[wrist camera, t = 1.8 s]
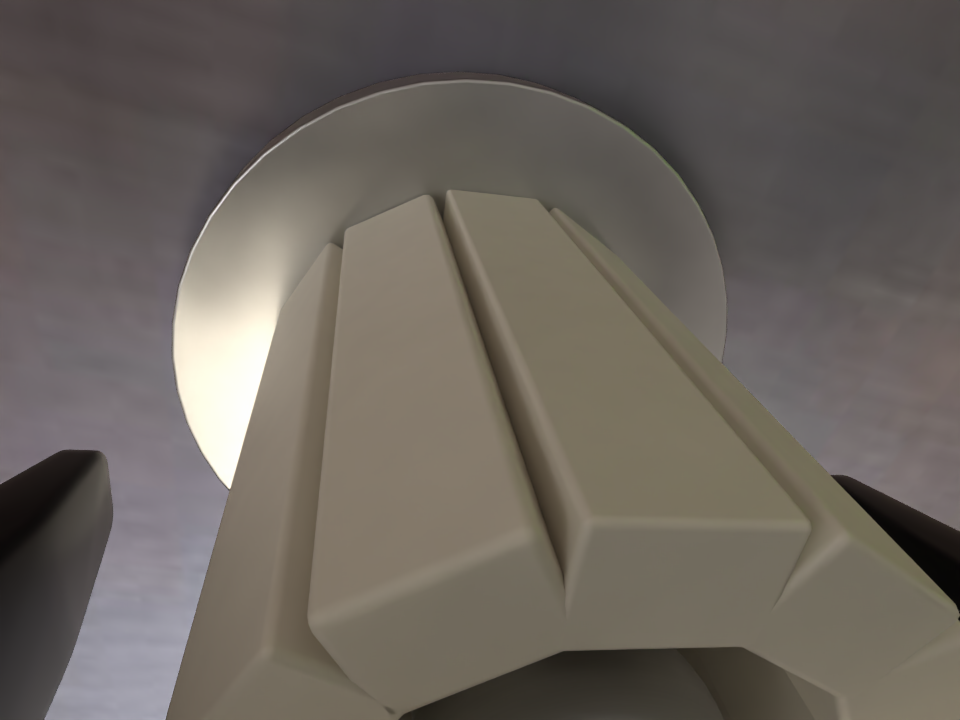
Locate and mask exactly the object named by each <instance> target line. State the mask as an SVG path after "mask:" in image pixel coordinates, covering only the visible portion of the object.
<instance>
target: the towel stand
mask: <svg viewBox="0 0 960 720" xmlns="http://www.w3.org/2000/svg"><path fill="white" fill-rule="evenodd" d="M451 189H452V190H461V191H470V192H479V193H488V194H497V195H506V196H514V197H523V198H532V199H537V200H538V201H539V202H540V203H541V204H542V205H543V206H544V208H545V209H546V210H547V211H548V212H550V211H551V210H552V209H553V208H558V209H559V210H561V211H562V212H563V213H564V214H566V215H567V216H568V217H569V218H571V219H572V220H573V221H574V222H576V223H577V224H578V225H579V226H581V227H582V228H583V229H584V230H586V231H587V232H588V233H590V234H591V235H592V236H593V237H595V238H596V239H597V240H598V241H600V242H601V243H602V244H603V245H605V246H606V247H607V248H608V249H610V250H611V251H612V252H613V253H615V254H616V255H617V256H618V257H619V258H620V259H621V260H622V261H623V262H624V263H625V264H626V265H627V267H628V268H629V269H630V270H631V271H632V272H633V273H634V274H635V275H636V276H637V277H638V278H639V279H640V280H641V281H642V282H643V283H644V284H645V285H646V286H647V287H648V288H649V289H650V290H651V291H652V292H653V293H654V294H655V295H656V296H657V297H658V298H659V299H660V300H661V302H662V303H663V304H664V305H665V306H666V307H667V308H668V309H669V310H670V311H671V312H672V313H673V314H674V315H675V316H676V317H677V318H678V319H679V320H680V321H681V322H682V323H683V324H684V325H685V326H686V327H687V328H688V329H689V330H690V331H691V332H692V333H693V334H694V335H695V337H696V338H697V339H698V340H699V341H700V342H701V343H702V344H703V345H704V346H705V347H706V348H707V349H708V350H709V351H710V352H711V353H712V354H713V355H714V356H715V357H716V358H717V359H718V360H719V361H720V362H721V363H722V361H723V355H724V348H725V341H726V333H727V294H726V287H725V281H724V274H723V267H722V263H721V259H720V256H719V253H718V249H717V246H716V243H715V239H714V236H713V233H712V231H711V229H710V227H709V225H708V223H707V221H706V218H705V216H704V214H703V212H702V210H701V208H700V206H699V204H698V202H697V201H696V199H695V198H694V196H693V195H692V193H691V192H690V190H689V189H688V187H687V186H686V184H685V183H684V182H683V180H682V179H681V177H680V176H679V174H678V173H677V172H676V171H675V170H674V169H673V168H672V167H671V166H670V165H669V164H668V162H667V161H666V160H665V159H664V158H663V157H662V156H661V155H660V154H659V153H658V152H657V151H656V150H655V149H654V148H653V147H652V146H651V145H650V144H648V143H647V142H646V141H645V140H643V139H642V138H641V137H639V136H638V135H637V134H636V133H634V132H633V131H632V130H631V129H629V128H628V127H627V126H625V125H624V124H622V123H621V122H619V121H617V120H615V119H614V118H612V117H610V116H608V115H607V114H605V113H603V112H601V111H599V110H598V109H596V108H594V107H592V106H591V105H589V104H587V103H584V102H582V101H580V100H578V99H576V98H574V97H572V96H569V95H566V94H564V93H561V92H559V91H556V90H553V89H551V88H548V87H546V86H543V85H540V84H538V83H534V82H529V81H525V80H520V79H516V78H511V77H507V76H502V75H496V74H483V73H470V72H446V73H431V74H417V75H413V76H408V77H403V78H399V79H394V80H389V81H385V82H380V83H376V84H373V85H371V86H368V87H365V88H363V89H360V90H357V91H354V92H352V93H349V94H346V95H343V96H341V97H338V98H336V99H335V100H333V101H331V102H329V103H327V104H325V105H323V106H322V107H320V108H318V109H316V110H314V111H312V112H311V113H309V114H307V115H305V116H303V117H302V118H300V119H299V120H298V121H296V122H295V123H294V124H292V125H291V126H290V127H288V128H287V129H286V130H284V131H283V132H282V133H280V134H279V135H278V136H276V137H275V138H273V139H272V140H271V141H270V142H269V143H268V144H267V145H266V146H265V147H264V148H263V149H262V150H261V151H260V152H259V153H258V154H257V155H256V156H255V157H254V158H253V159H252V160H251V161H250V162H249V163H248V164H247V165H246V166H245V167H244V168H243V169H242V171H241V172H240V173H239V175H238V176H237V177H236V179H235V180H234V181H233V183H232V184H231V185H230V187H229V188H228V189H227V191H226V192H225V194H224V195H223V196H222V198H221V199H220V200H219V202H218V203H217V204H216V206H215V207H214V208H213V210H212V211H211V213H210V214H209V215H208V217H207V219H206V221H205V223H204V225H203V227H202V229H201V231H200V232H199V234H198V236H197V238H196V240H195V242H194V244H193V246H192V248H191V250H190V252H189V255H188V258H187V261H186V264H185V267H184V270H183V273H182V276H181V279H180V282H179V285H178V290H177V296H176V301H175V307H174V313H173V319H172V363H173V370H174V377H175V384H176V390H177V394H178V397H179V400H180V403H181V407H182V410H183V413H184V416H185V420H186V423H187V425H188V427H189V429H190V431H191V433H192V435H193V437H194V440H195V442H196V444H197V446H198V448H199V450H200V452H201V454H202V455H203V457H204V458H205V460H206V461H207V463H208V464H209V466H210V467H211V469H212V470H213V472H214V473H215V475H216V476H217V478H218V479H219V480H220V481H221V482H222V483H223V485H224V486H225V487H226V488H227V489H228V490H229V491H230V488H231V484H232V481H233V477H234V473H235V470H236V466H237V463H238V459H239V456H240V452H241V448H242V445H243V441H244V438H245V434H246V431H247V427H248V423H249V420H250V416H251V413H252V409H253V406H254V402H255V398H256V395H257V391H258V388H259V384H260V381H261V377H262V374H263V370H264V366H265V363H266V359H267V356H268V352H269V349H270V345H271V341H272V338H273V334H274V332H275V330H276V326H277V323H278V319H279V315H280V312H281V309H282V307H283V306H284V304H285V303H286V302H287V300H288V299H289V297H290V296H291V294H292V293H293V292H294V290H295V289H296V287H297V286H298V284H299V283H300V282H301V280H302V279H303V277H304V276H305V274H306V273H307V272H308V270H309V269H310V267H311V266H312V265H313V263H314V262H315V260H316V259H317V257H318V256H319V255H320V253H321V252H322V250H323V249H324V247H325V246H326V245H327V244H328V243H333V244H335V245H337V246H338V247H340V248H341V249H343V244H344V234H345V231H346V230H347V229H348V228H349V227H352V226H354V225H356V224H359V223H361V222H363V221H365V220H368V219H370V218H372V217H375V216H377V215H379V214H381V213H384V212H386V211H388V210H391V209H393V208H395V207H397V206H400V205H402V204H404V203H407V202H409V201H411V200H413V199H416V198H418V197H420V196H422V195H430V196H431V197H432V198H433V199H434V202H435V204H436V206H437V209H438V211H439V213H440V215H441V218H442V220H443V216H444V208H445V200H446V193H447V191H448V190H451ZM411 712H412V720H724V718H723V716H722V714H721V712H720V710H719V708H718V706H717V704H716V702H715V700H714V698H713V697H712V695H711V693H710V691H709V690H708V688H707V686H706V685H705V683H704V682H703V681H702V679H701V678H700V677H699V675H698V674H697V673H696V672H695V670H694V669H693V668H692V666H691V665H690V664H689V663H688V661H687V660H686V659H685V658H684V657H683V656H682V655H681V654H680V653H679V652H678V651H677V649H676V648H668V649H626V650H584V651H562V652H560V653H557V654H555V655H552V656H550V657H547V658H545V659H542V660H539V661H537V662H534V663H532V664H529V665H527V666H524V667H522V668H519V669H517V670H514V671H512V672H509V673H506V674H504V675H501V676H499V677H496V678H494V679H491V680H489V681H486V682H484V683H481V684H478V685H476V686H473V687H471V688H468V689H466V690H463V691H461V692H458V693H456V694H453V695H451V696H448V697H445V698H443V699H440V700H438V701H435V702H433V703H430V704H428V705H425V706H423V707H420V708H417V709H415V710H412V711H411Z"/></svg>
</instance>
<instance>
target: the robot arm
mask: <svg viewBox="0 0 960 720" xmlns="http://www.w3.org/2000/svg"><path fill="white" fill-rule="evenodd" d="M831 476H832V478H833V479H834V480H835V481H836V482H837V483H838V484H839V485H840V486H841V487H842V488H843V489H844V490H845V491H846V492H847V493H848V494H849V495H850V496H851V497H852V498H853V499H854V500H855V501H856V502H857V503H858V504H859V505H860V506H861V507H862V508H863V509H864V510H865V511H866V513H867V514H868V515H869V516H870V517H871V518H872V519H873V520H874V521H875V522H876V523H877V524H878V525H879V526H880V527H881V528H882V529H883V530H884V531H885V532H886V533H887V534H888V535H889V536H890V537H891V538H892V539H893V540H894V541H895V542H896V543H897V544H898V545H899V546H900V548H901V549H902V550H903V551H904V552H905V553H906V554H907V555H908V556H909V557H910V558H911V559H912V560H913V561H914V562H915V563H916V564H917V565H918V566H919V567H920V568H921V569H922V570H923V571H924V572H925V573H926V574H927V575H928V576H929V577H930V578H931V579H932V580H933V581H934V582H935V584H936V585H937V586H938V587H939V588H940V589H941V590H942V591H943V592H944V593H945V594H946V595H947V596H948V597H949V598H950V599H951V600H952V601H953V602H954V603H955V604H956V606H957V609H958V611H959V614H960V532H959V531H957V530H955V529H953V528H951V527H949V526H947V525H945V524H943V523H941V522H939V521H937V520H935V519H933V518H931V517H929V516H927V515H925V514H923V513H921V512H919V511H917V510H915V509H913V508H911V507H909V506H907V505H905V504H903V503H901V502H899V501H897V500H895V499H893V498H891V497H889V496H887V495H885V494H883V493H881V492H879V491H877V490H875V489H873V488H871V487H869V486H867V485H865V484H863V483H861V482H859V481H857V480H855V479H853V478H851V477H848V476H844V475H831ZM112 521H113V503H112V495H111V487H110V479H109V471H108V463H107V459H106V457H105V455H104V454H103V453H102V452H100V451H94V450H62V451H60V452H58V453H55V454H54V455H52V456H50V457H48V458H47V459H45V460H43V461H41V462H39V463H38V464H36V465H34V466H32V467H31V468H29V469H27V470H25V471H23V472H22V473H20V474H18V475H16V476H15V477H13V478H11V479H9V480H7V481H6V482H4V483H2V484H0V720H44V718H45V716H46V714H47V712H48V709H49V707H50V705H51V703H52V700H53V698H54V696H55V694H56V691H57V689H58V687H59V685H60V682H61V680H62V678H63V675H64V673H65V670H66V668H67V666H68V663H69V661H70V658H71V656H72V653H73V650H74V647H75V644H76V641H77V638H78V635H79V632H80V629H81V625H82V622H83V619H84V616H85V612H86V609H87V606H88V603H89V599H90V596H91V593H92V590H93V586H94V583H95V580H96V577H97V573H98V570H99V567H100V564H101V560H102V557H103V554H104V551H105V547H106V544H107V541H108V538H109V534H110V531H111V527H112ZM958 620H959V621H960V616H959V618H958Z"/></svg>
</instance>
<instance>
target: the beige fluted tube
mask: <svg viewBox="0 0 960 720" xmlns="http://www.w3.org/2000/svg"><path fill="white" fill-rule="evenodd" d="M959 616H960V614H959V611H958V609H957V606H956V604H955V603H954V602H953V601H952V600H951V599H950V598H949V597H948V596H947V595H946V594H945V593H944V592H943V591H942V590H941V589H940V588H939V587H938V586H937V585H936V584H935V582H934V581H933V580H932V579H931V578H930V577H929V576H928V575H927V574H926V573H925V572H924V571H923V570H922V569H921V568H920V567H919V566H918V565H917V564H916V563H915V562H914V561H913V560H912V559H911V558H910V557H909V556H908V555H907V554H906V553H905V552H904V551H903V550H902V549H901V548H900V546H899V545H898V544H897V543H896V542H895V541H894V540H893V539H892V538H891V537H890V536H889V535H888V534H887V533H886V532H885V531H884V530H883V529H882V528H881V527H880V526H879V525H878V524H877V523H876V522H875V521H874V520H873V519H872V518H871V517H870V516H869V515H868V514H867V513H866V511H865V510H864V509H863V508H862V507H861V506H860V505H859V504H858V503H857V502H856V501H855V500H854V499H853V498H852V497H851V496H850V495H849V494H848V493H847V492H846V491H845V490H844V489H843V488H842V487H841V486H840V485H839V484H838V483H837V482H836V481H835V480H834V479H833V478H832V476H831V475H830V474H829V473H828V472H827V471H826V470H825V469H824V468H823V467H822V466H821V465H820V464H819V463H818V462H817V461H816V460H815V459H814V458H813V457H812V456H811V455H810V454H809V453H808V452H807V451H806V450H805V449H804V448H803V447H802V446H801V445H800V444H799V443H798V441H797V440H796V439H795V438H794V437H793V436H792V435H791V434H790V433H789V432H788V431H787V430H786V429H785V428H784V427H783V426H782V425H781V424H780V423H779V422H778V421H777V420H776V419H775V418H774V417H773V416H772V415H771V414H770V413H769V412H768V411H767V410H766V409H765V408H764V406H763V405H762V404H761V403H760V402H759V401H758V400H757V399H756V398H755V397H754V396H753V395H752V394H751V393H750V392H749V391H748V390H747V389H746V388H745V387H744V386H743V385H742V384H741V383H740V382H739V381H738V380H737V379H736V378H735V377H734V376H733V375H732V374H731V373H730V372H729V370H728V369H727V368H726V367H725V366H724V365H723V364H722V363H721V362H720V361H719V360H718V359H717V358H716V357H715V356H714V355H713V354H712V353H711V352H710V351H709V350H708V349H707V348H706V347H705V346H704V345H703V344H702V343H701V342H700V341H699V340H698V339H697V338H696V337H695V335H694V334H693V333H692V332H691V331H690V330H689V329H688V328H687V327H686V326H685V325H684V324H683V323H682V322H681V321H680V320H679V319H678V318H677V317H676V316H675V315H674V314H673V313H672V312H671V311H670V310H669V309H668V308H667V307H666V306H665V305H664V304H663V303H662V302H661V300H660V299H659V298H658V297H657V296H656V295H655V294H654V293H653V292H652V291H651V290H650V289H649V288H648V287H647V286H646V285H645V284H644V283H643V282H642V281H641V280H640V279H639V278H638V277H637V276H636V275H635V274H634V273H633V272H632V271H631V270H630V269H629V268H628V267H627V265H626V264H625V263H624V262H623V261H622V260H621V259H620V258H619V257H618V256H617V255H616V254H615V253H613V252H612V251H611V250H610V249H608V248H607V247H606V246H605V245H603V244H602V243H601V242H600V241H598V240H597V239H596V238H595V237H593V236H592V235H591V234H590V233H588V232H587V231H586V230H584V229H583V228H582V227H581V226H579V225H578V224H577V223H576V222H574V221H573V220H572V219H571V218H569V217H568V216H567V215H566V214H564V213H563V212H562V211H561V210H559V209H558V208H553V209H552V210H551V211H550V212H548V211H547V210H546V209H545V208H544V206H543V205H542V204H541V203H540V202H539V201H538V200H537V199H532V198H523V197H514V196H506V195H497V194H488V193H479V192H470V191H461V190H452V189H451V190H448V191H447V193H446V200H445V208H444V216H443V220H442V218H441V215H440V213H439V211H438V209H437V206H436V204H435V202H434V199H433V198H432V197H431V196H430V195H422V196H420V197H418V198H416V199H413V200H411V201H409V202H407V203H404V204H402V205H400V206H397V207H395V208H393V209H391V210H388V211H386V212H384V213H381V214H379V215H377V216H375V217H372V218H370V219H368V220H365V221H363V222H361V223H359V224H356V225H354V226H352V227H349V228H348V229H347V230H346V231H345V234H344V244H343V249H341V248H340V247H338V246H337V245H335V244H333V243H328V244H327V245H326V246H325V247H324V249H323V250H322V252H321V253H320V255H319V256H318V257H317V259H316V260H315V262H314V263H313V265H312V266H311V267H310V269H309V270H308V272H307V273H306V274H305V276H304V277H303V279H302V280H301V282H300V283H299V284H298V286H297V287H296V289H295V290H294V292H293V293H292V294H291V296H290V297H289V299H288V300H287V302H286V303H285V304H284V306H283V307H282V309H281V312H280V315H279V319H278V323H277V326H276V330H275V332H274V334H273V338H272V341H271V345H270V349H269V352H268V356H267V359H266V363H265V366H264V370H263V374H262V377H261V381H260V384H259V388H258V391H257V395H256V398H255V402H254V406H253V409H252V413H251V416H250V420H249V423H248V427H247V431H246V434H245V438H244V441H243V445H242V448H241V452H240V456H239V459H238V463H237V466H236V470H235V473H234V477H233V481H232V484H231V488H230V491H229V495H228V498H227V502H226V506H225V509H224V513H223V516H222V520H221V523H220V527H219V530H218V534H217V538H216V541H215V545H214V548H213V552H212V555H211V559H210V563H209V566H208V570H207V573H206V577H205V580H204V584H203V588H202V591H201V595H200V598H199V602H198V605H197V609H196V613H195V616H194V620H193V623H192V627H191V630H190V634H189V638H188V641H187V645H186V648H185V652H184V655H183V659H182V662H181V666H180V670H179V673H178V677H177V680H176V684H175V687H174V691H173V695H172V698H171V702H170V705H169V709H168V712H167V716H166V720H412V712H411V711H412V710H415V709H417V708H420V707H423V706H425V705H428V704H430V703H433V702H435V701H438V700H440V699H443V698H445V697H448V696H451V695H453V694H456V693H458V692H461V691H463V690H466V689H468V688H471V687H473V686H476V685H478V684H481V683H484V682H486V681H489V680H491V679H494V678H496V677H499V676H501V675H504V674H506V673H509V672H512V671H514V670H517V669H519V668H522V667H524V666H527V665H529V664H532V663H534V662H537V661H539V660H542V659H545V658H547V657H550V656H552V655H555V654H557V653H560V652H562V651H584V650H626V649H668V648H676V649H677V651H678V652H679V653H680V654H681V655H682V656H683V657H684V658H685V659H686V660H687V661H688V663H689V664H690V665H691V666H692V668H693V669H694V670H695V672H696V673H697V674H698V675H699V677H700V678H701V679H702V681H703V682H704V683H705V685H706V686H707V688H708V690H709V691H710V693H711V695H712V697H713V698H714V700H715V702H716V704H717V706H718V708H719V710H720V712H721V714H722V716H723V718H724V720H960V621H959V620H958V618H959Z"/></svg>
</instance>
